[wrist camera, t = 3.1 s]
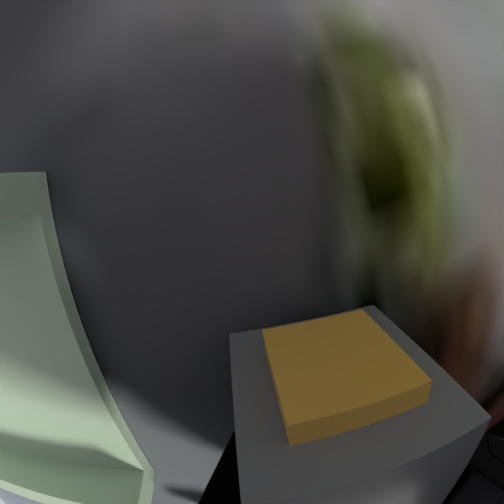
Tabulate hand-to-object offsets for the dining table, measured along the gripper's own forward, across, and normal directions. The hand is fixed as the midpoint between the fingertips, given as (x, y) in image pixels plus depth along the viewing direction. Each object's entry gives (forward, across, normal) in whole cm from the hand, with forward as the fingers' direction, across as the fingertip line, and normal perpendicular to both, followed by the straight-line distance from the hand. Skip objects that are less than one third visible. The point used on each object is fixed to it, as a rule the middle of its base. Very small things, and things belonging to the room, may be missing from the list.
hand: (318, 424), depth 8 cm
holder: (+1, +12, -2) cm, 12 cm away
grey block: (+1, 0, 0) cm, 1 cm away
